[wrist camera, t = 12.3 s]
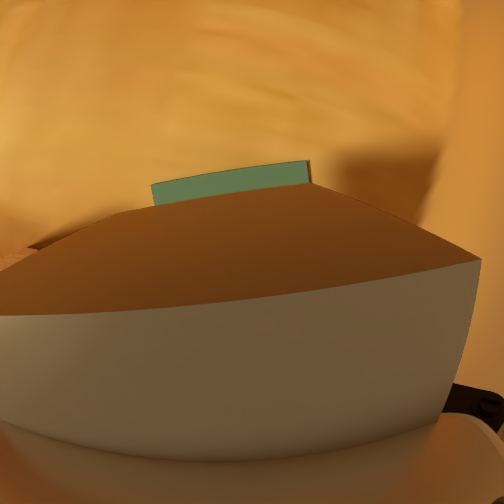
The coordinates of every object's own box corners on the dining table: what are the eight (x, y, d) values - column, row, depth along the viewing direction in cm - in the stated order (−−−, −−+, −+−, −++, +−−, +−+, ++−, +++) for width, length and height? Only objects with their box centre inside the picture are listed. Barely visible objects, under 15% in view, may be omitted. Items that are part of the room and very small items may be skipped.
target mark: (151, 184, 20) (150, 185, 20) (305, 160, 19) (306, 160, 19) (182, 319, 23) (182, 321, 23) (318, 303, 23) (318, 304, 22)
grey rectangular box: (116, 213, 11) (-67, 314, 2) (310, 182, 10) (481, 259, 2) (177, 403, 14) (139, 547, 5) (322, 390, 13) (359, 545, 5)
